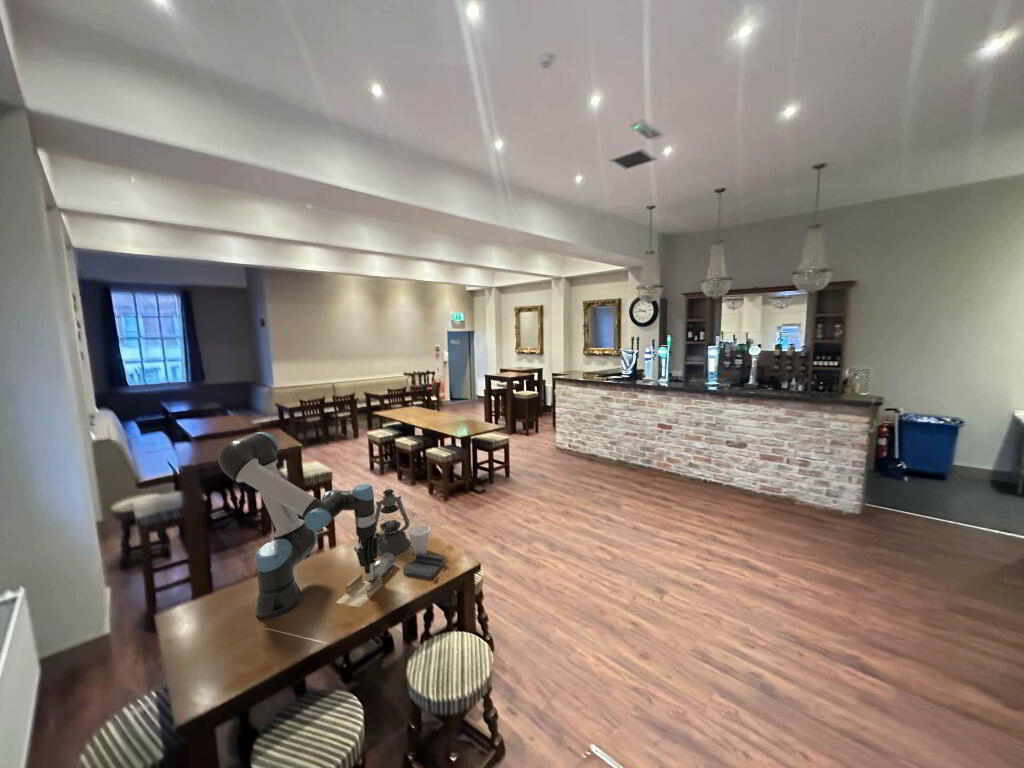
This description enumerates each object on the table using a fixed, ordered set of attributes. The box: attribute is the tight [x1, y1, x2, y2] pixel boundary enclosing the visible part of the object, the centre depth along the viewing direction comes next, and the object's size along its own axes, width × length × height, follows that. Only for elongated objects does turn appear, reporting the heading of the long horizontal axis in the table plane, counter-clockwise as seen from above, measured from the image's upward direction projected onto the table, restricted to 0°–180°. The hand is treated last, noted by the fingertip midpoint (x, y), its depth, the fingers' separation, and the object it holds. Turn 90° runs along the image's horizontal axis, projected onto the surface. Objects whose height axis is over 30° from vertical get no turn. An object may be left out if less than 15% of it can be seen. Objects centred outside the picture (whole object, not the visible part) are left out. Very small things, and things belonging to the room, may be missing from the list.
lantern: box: [374, 485, 412, 557], centre depth 191 cm, size 18×20×30 cm
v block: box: [402, 553, 445, 580], centre depth 172 cm, size 13×12×4 cm
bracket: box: [335, 573, 383, 609], centre depth 157 cm, size 11×14×4 cm
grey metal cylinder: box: [369, 553, 396, 582], centre depth 170 cm, size 6×12×6 cm, turn 164°
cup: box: [407, 524, 431, 556], centre depth 186 cm, size 10×10×11 cm
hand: (370, 578), depth 163 cm, fingers closed
